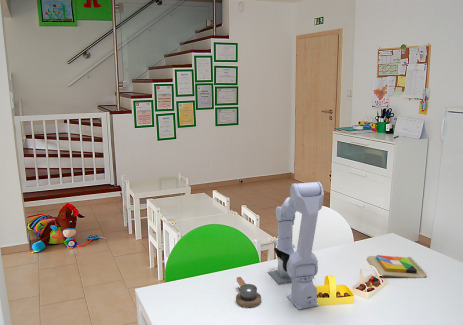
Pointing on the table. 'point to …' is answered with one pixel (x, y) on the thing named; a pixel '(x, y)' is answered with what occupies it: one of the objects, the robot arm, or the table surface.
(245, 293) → the small saucepan
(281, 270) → the translucent grey block
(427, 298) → the table surface
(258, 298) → the base
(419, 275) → the wooden puzzle
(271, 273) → the mat
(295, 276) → the robot arm
